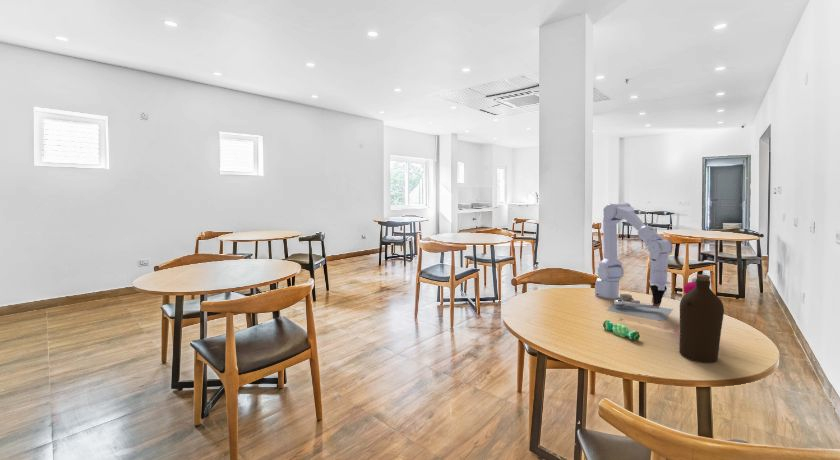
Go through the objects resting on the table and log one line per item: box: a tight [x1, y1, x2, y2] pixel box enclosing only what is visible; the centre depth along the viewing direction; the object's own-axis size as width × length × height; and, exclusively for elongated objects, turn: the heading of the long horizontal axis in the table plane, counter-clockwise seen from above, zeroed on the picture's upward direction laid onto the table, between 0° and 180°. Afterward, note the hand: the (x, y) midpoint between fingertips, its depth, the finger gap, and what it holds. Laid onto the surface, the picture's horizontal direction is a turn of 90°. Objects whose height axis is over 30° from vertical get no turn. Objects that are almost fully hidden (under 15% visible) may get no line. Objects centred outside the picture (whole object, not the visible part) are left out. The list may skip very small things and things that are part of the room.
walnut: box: [625, 296, 635, 302], centre depth 159 cm, size 4×4×4 cm
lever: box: [613, 296, 661, 309], centre depth 153 cm, size 16×4×4 cm, turn 67°
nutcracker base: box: [606, 293, 674, 322], centre depth 153 cm, size 20×18×5 cm
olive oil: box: [678, 273, 725, 364], centre depth 112 cm, size 11×11×25 cm
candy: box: [602, 320, 641, 342], centre depth 131 cm, size 12×3×4 cm
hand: (657, 303), depth 148 cm, fingers closed
